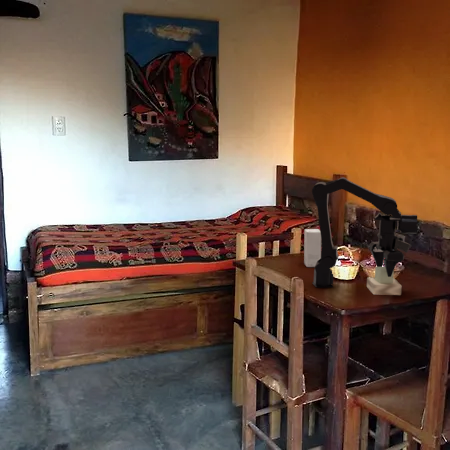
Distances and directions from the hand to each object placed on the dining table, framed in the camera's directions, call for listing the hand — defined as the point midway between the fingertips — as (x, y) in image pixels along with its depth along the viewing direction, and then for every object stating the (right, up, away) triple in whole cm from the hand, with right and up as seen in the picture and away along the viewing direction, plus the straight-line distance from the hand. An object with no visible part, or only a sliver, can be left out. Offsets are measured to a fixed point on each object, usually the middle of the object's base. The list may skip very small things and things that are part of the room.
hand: (384, 273), depth 203 cm
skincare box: (-21, 0, +38) cm, 43 cm away
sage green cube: (0, -3, +1) cm, 3 cm away
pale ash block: (0, -7, +1) cm, 7 cm away
